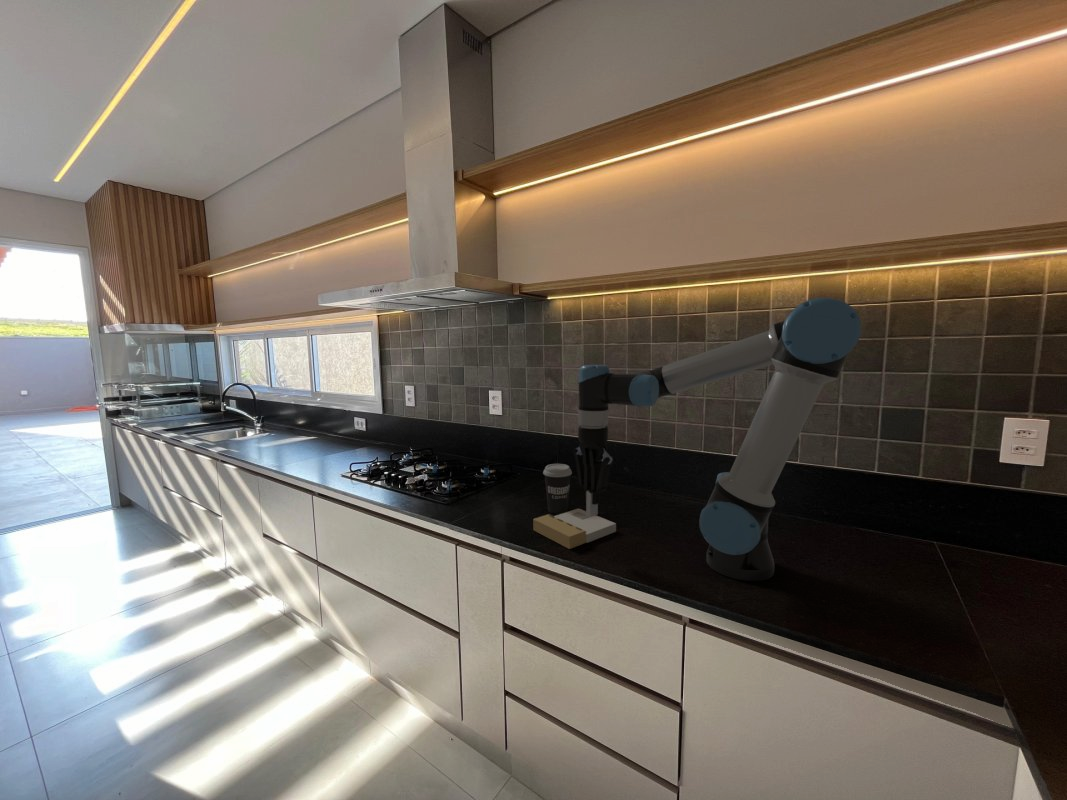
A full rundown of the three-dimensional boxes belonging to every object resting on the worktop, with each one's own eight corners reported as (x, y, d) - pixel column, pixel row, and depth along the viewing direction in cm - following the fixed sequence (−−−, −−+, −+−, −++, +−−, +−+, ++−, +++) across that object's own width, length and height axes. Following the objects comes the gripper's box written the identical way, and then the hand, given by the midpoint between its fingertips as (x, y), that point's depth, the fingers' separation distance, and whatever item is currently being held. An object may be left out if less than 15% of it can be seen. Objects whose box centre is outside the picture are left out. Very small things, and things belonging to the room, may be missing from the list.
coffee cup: (538, 512, 144) (538, 468, 143) (551, 503, 153) (550, 462, 151) (565, 517, 140) (564, 472, 138) (576, 507, 148) (576, 465, 147)
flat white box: (615, 531, 129) (616, 522, 128) (586, 543, 121) (586, 533, 121) (578, 515, 141) (578, 507, 141) (550, 525, 134) (550, 516, 134)
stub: (585, 542, 121) (585, 530, 121) (569, 549, 118) (569, 535, 117) (548, 525, 134) (548, 513, 133) (533, 530, 130) (533, 518, 130)
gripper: (622, 427, 108) (620, 519, 111) (585, 420, 118) (584, 504, 121) (601, 431, 103) (600, 526, 106) (565, 423, 114) (564, 510, 116)
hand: (591, 514), depth 114 cm, fingers closed
